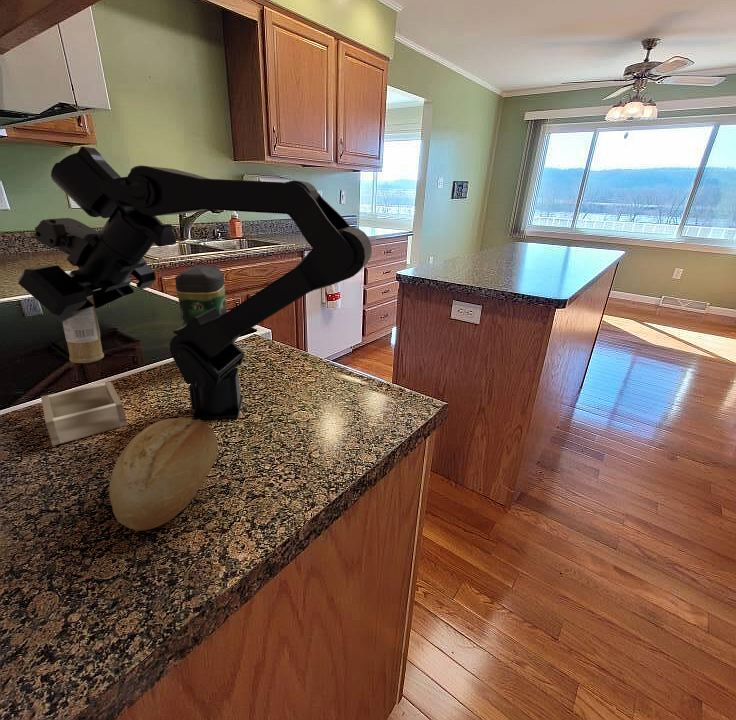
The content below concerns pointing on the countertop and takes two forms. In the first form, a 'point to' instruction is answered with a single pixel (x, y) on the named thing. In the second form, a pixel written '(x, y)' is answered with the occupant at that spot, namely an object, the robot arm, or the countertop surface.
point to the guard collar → (82, 412)
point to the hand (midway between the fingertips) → (71, 315)
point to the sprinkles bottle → (83, 335)
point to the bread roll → (161, 472)
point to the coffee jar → (200, 291)
